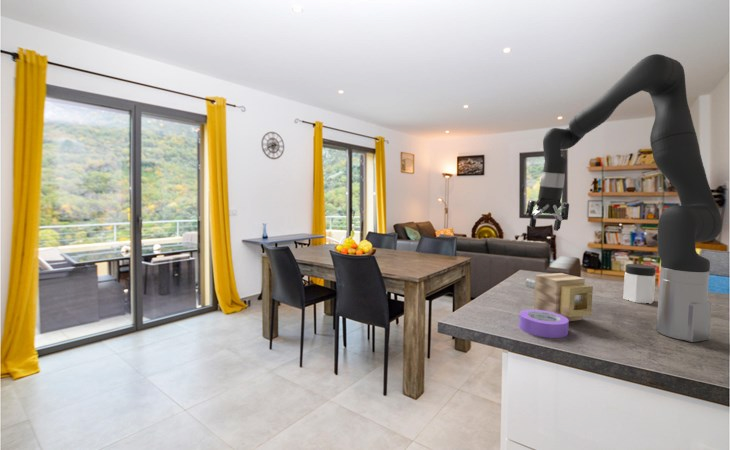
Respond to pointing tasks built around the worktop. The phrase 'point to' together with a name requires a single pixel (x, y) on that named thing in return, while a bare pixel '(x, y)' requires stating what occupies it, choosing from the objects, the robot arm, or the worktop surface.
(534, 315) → the masking tape
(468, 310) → the worktop surface
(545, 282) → the tan wooden block
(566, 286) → the block
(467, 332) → the worktop surface
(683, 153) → the robot arm
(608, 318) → the worktop surface
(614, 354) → the worktop surface
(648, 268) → the jar
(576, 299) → the shaft
